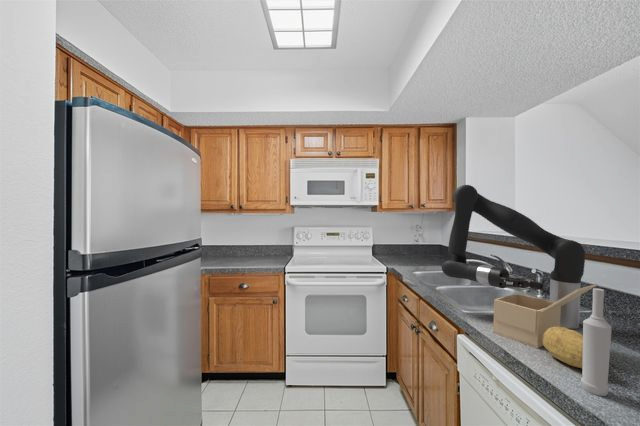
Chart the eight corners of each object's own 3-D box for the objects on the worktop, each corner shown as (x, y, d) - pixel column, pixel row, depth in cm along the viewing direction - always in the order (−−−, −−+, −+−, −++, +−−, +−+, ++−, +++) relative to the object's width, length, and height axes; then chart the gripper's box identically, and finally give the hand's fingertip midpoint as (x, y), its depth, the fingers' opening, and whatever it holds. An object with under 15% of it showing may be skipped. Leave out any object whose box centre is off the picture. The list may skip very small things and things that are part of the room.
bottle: (594, 384, 78) (598, 286, 77) (614, 396, 72) (619, 292, 72) (574, 383, 77) (578, 286, 77) (593, 396, 72) (598, 292, 72)
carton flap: (596, 283, 97) (598, 284, 96) (561, 304, 105) (562, 305, 104) (577, 289, 89) (578, 290, 88) (540, 310, 97) (541, 312, 96)
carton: (516, 324, 118) (518, 293, 117) (560, 337, 106) (561, 303, 105) (492, 332, 109) (493, 299, 108) (536, 348, 97) (537, 311, 96)
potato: (573, 354, 94) (574, 323, 94) (608, 379, 80) (609, 344, 79) (537, 350, 96) (538, 320, 96) (564, 375, 82) (566, 339, 81)
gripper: (483, 267, 114) (535, 277, 99) (501, 265, 121) (553, 273, 106) (482, 287, 114) (534, 300, 99) (501, 283, 121) (552, 295, 106)
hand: (544, 286), depth 102 cm, fingers closed
